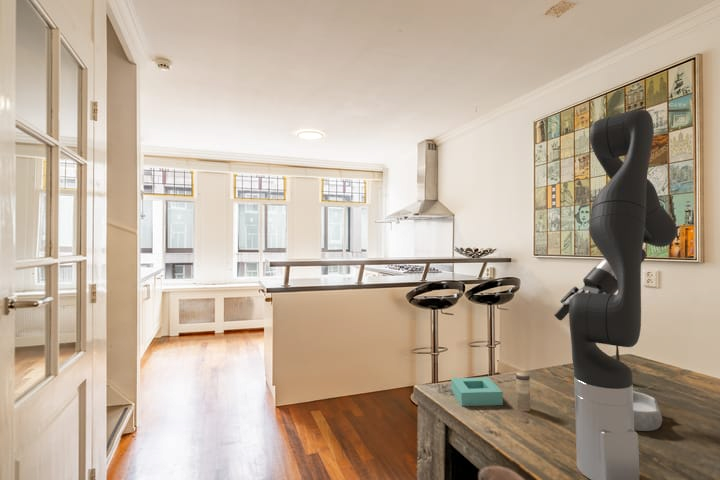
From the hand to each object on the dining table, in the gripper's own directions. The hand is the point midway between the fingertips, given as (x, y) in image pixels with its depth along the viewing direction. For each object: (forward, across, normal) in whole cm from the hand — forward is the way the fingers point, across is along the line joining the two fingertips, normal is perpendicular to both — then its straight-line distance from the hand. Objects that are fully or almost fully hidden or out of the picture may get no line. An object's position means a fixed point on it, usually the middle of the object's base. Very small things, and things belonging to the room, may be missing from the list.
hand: (565, 321), depth 99 cm
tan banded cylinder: (+24, 0, +7) cm, 25 cm away
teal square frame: (+31, -8, 0) cm, 32 cm away
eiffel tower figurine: (0, -16, +33) cm, 37 cm away
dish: (+9, +7, +23) cm, 26 cm away
